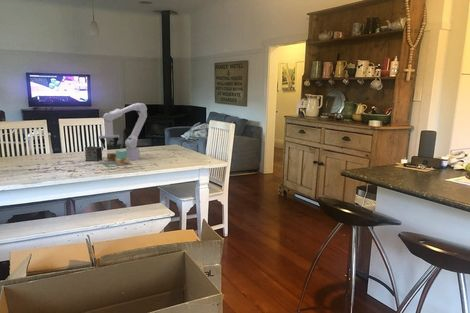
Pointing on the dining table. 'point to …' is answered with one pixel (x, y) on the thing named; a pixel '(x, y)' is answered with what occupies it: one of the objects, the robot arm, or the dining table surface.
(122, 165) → the placemat
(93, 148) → the small box
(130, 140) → the robot arm
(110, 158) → the walnut block
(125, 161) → the oak block
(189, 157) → the dining table surface
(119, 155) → the teal block
